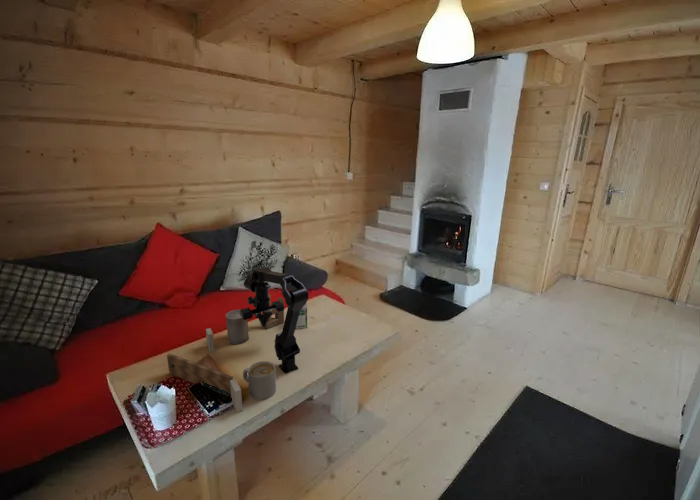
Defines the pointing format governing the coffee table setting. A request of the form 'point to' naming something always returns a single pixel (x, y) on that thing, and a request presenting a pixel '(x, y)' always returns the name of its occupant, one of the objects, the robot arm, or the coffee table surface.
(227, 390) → the door
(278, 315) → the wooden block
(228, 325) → the pillar candle
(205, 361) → the sunglasses case
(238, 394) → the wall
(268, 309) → the robot arm
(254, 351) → the coffee table surface
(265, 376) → the coffee mug
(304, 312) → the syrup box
